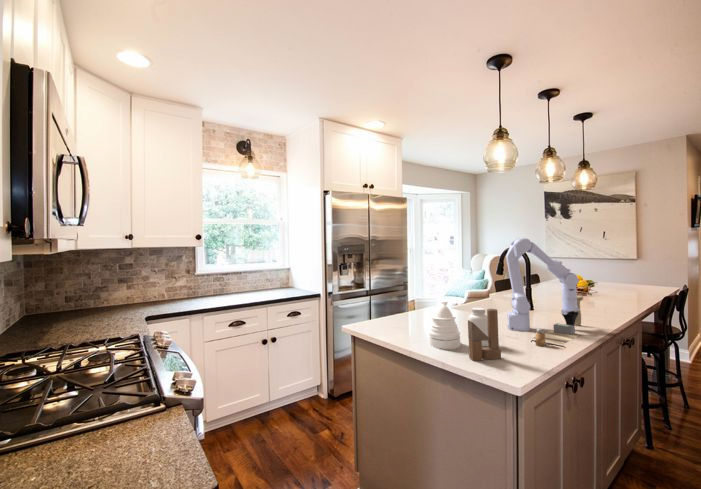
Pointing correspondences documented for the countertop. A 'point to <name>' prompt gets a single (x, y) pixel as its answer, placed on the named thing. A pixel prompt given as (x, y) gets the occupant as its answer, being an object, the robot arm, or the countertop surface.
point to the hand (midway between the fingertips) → (570, 327)
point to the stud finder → (564, 329)
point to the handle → (578, 318)
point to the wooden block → (478, 336)
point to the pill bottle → (480, 321)
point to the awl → (540, 338)
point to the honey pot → (444, 329)
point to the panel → (557, 338)
